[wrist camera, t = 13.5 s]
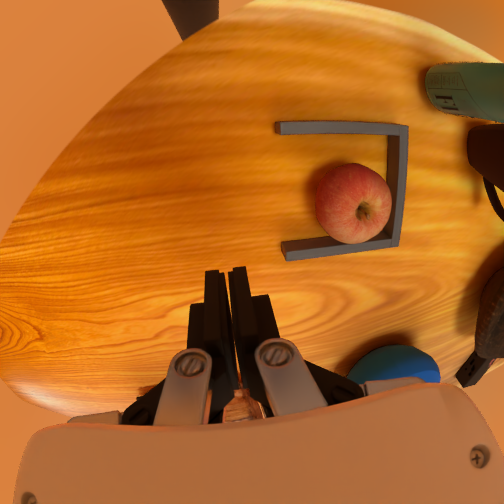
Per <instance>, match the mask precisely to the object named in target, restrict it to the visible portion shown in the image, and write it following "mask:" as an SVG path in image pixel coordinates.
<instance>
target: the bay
mask: <svg viewBox="0 0 504 504" xmlns="http://www.w3.org/2000/svg"><path fill="white" fill-rule="evenodd" d="M275 130H276V133H277V134H280V135H290V134H377V135H388V163H387V185H388V187H389V189H390V192H391V197H392V207H391V212H390V216H389V219H388V222H387V223H386V225H385V226H384V228H383V229H382V231H380V232H379V233H378V234H377V235H376V236H374V237H372V238H371V239H369V240H367V241H365V242H362V243H358V244H347V243H343V242H340V241H338V240H336V239H334V238H332V237H331V236H330V237H321V238H313V239H304V240H296V241H287V242H282V243H281V247H282V253H283V255H284V257H285V260H286V261H295V260H302V259H310V258H318V257H325V256H333V255H340V254H347V253H355V252H362V251H369V250H376V249H384V248H390V247H398V246H399V240H400V233H401V226H402V218H403V210H404V201H405V190H406V177H407V161H408V126H406V125H400V124H392V123H379V122H362V121H279V122H275Z"/></svg>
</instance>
